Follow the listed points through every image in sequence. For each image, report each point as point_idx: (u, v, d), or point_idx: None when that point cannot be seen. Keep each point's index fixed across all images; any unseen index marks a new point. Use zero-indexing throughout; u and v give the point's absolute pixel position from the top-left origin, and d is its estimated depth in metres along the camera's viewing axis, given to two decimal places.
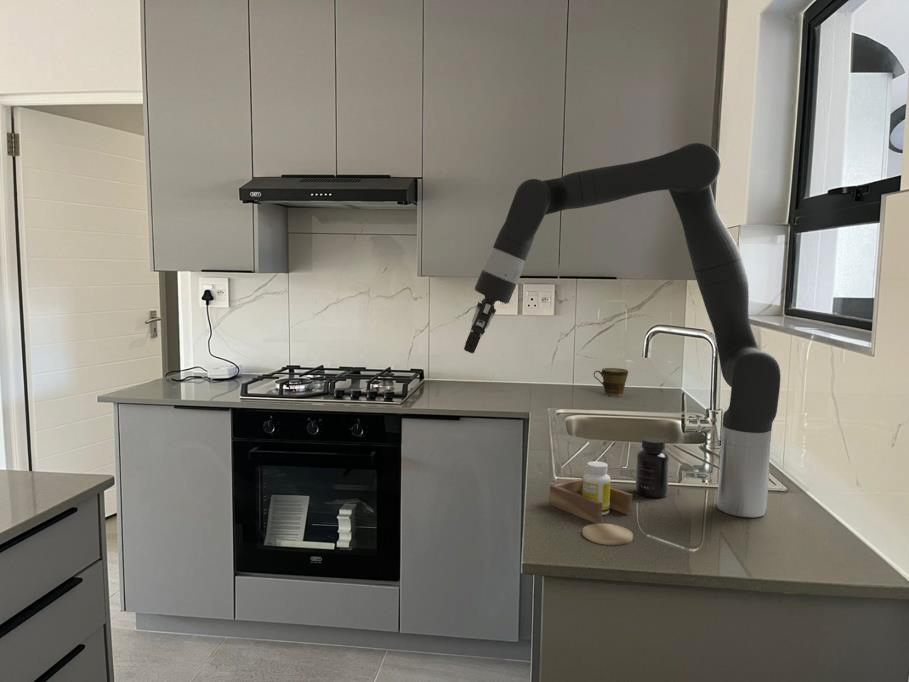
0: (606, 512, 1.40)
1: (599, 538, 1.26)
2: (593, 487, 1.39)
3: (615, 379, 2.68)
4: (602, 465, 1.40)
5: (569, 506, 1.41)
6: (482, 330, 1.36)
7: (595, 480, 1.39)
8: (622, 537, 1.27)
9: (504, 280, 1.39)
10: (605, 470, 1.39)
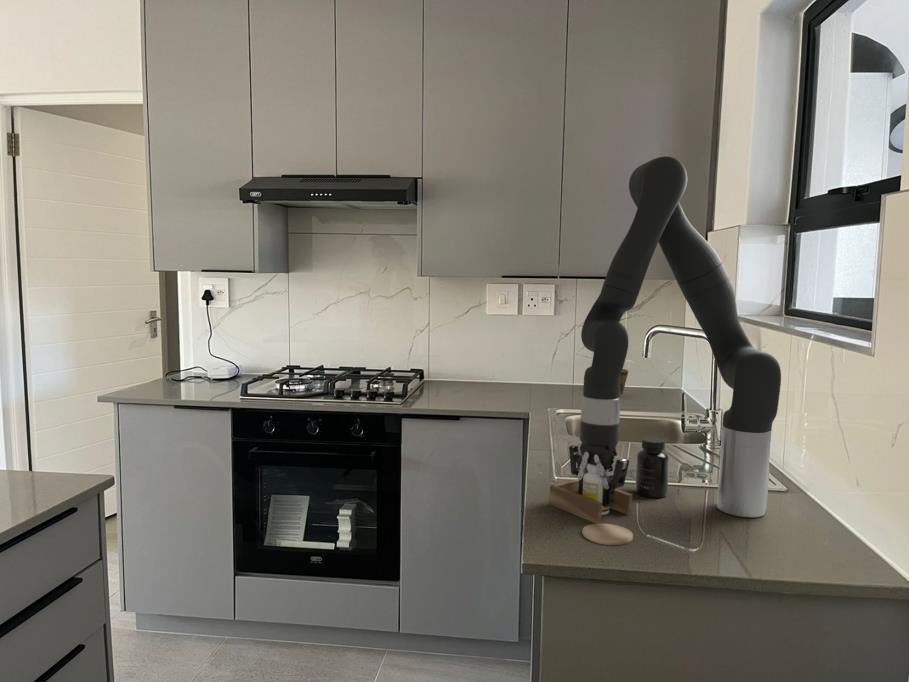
0: (606, 512, 1.40)
1: (599, 538, 1.26)
2: (593, 486, 1.39)
3: None
4: None
5: (569, 506, 1.41)
6: (622, 484, 1.37)
7: (595, 480, 1.39)
8: (622, 537, 1.27)
9: (617, 425, 1.38)
10: (605, 470, 1.39)
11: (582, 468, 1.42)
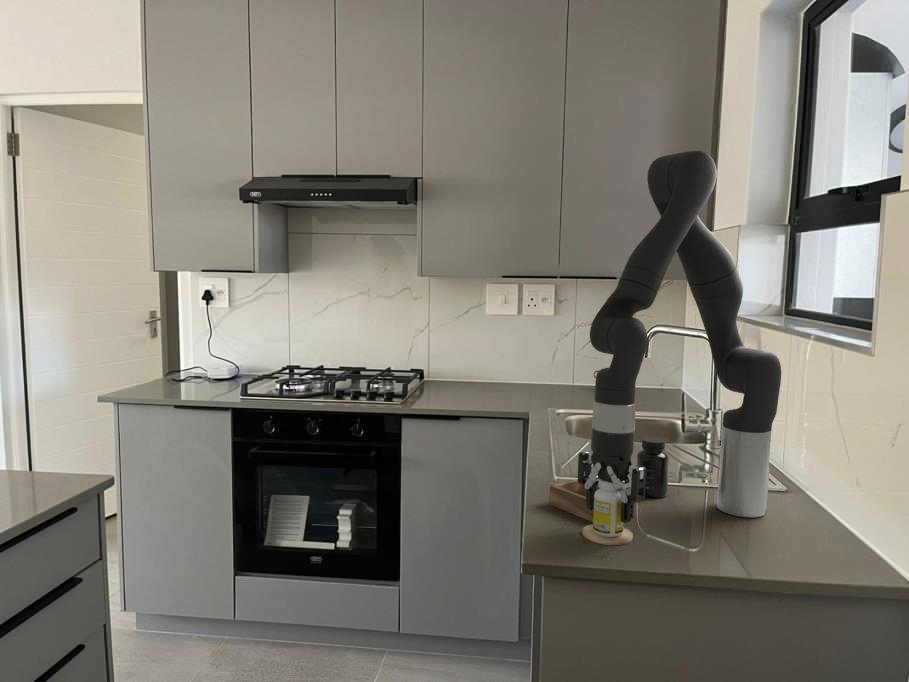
0: (620, 533, 1.27)
1: (599, 538, 1.26)
2: (605, 505, 1.26)
3: None
4: None
5: (569, 506, 1.41)
6: (643, 496, 1.23)
7: (608, 498, 1.26)
8: (622, 537, 1.27)
9: (632, 433, 1.25)
10: None
11: (591, 478, 1.29)
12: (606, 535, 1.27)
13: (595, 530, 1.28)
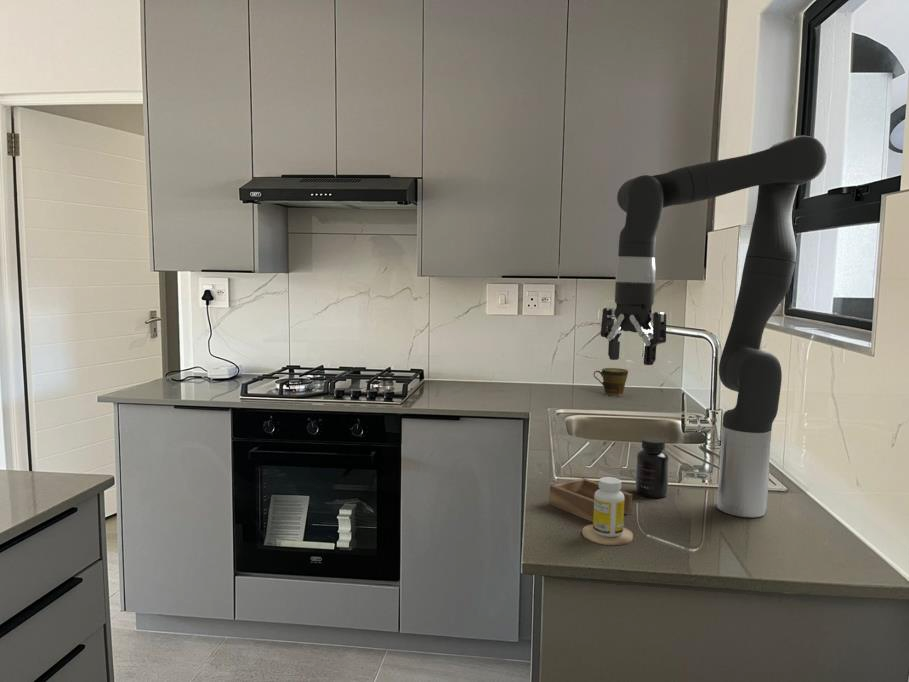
0: (620, 533, 1.27)
1: (599, 538, 1.26)
2: (605, 505, 1.26)
3: (615, 379, 2.68)
4: (615, 481, 1.27)
5: (569, 506, 1.41)
6: (664, 339, 1.35)
7: (608, 498, 1.26)
8: (622, 537, 1.27)
9: (653, 284, 1.37)
10: (618, 487, 1.27)
11: (614, 329, 1.42)
12: (606, 535, 1.27)
13: (595, 530, 1.28)
